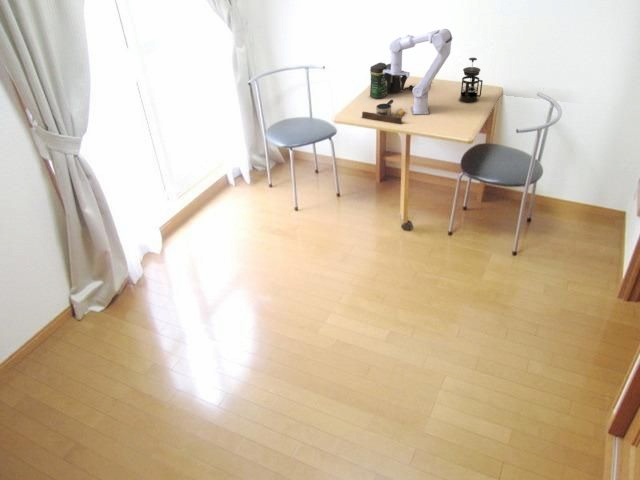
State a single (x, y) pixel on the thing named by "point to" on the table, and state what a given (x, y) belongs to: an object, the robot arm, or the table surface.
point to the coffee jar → (378, 80)
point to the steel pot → (384, 108)
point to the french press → (470, 91)
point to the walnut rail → (382, 117)
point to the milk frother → (395, 83)
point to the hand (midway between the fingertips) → (395, 88)
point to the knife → (400, 113)
